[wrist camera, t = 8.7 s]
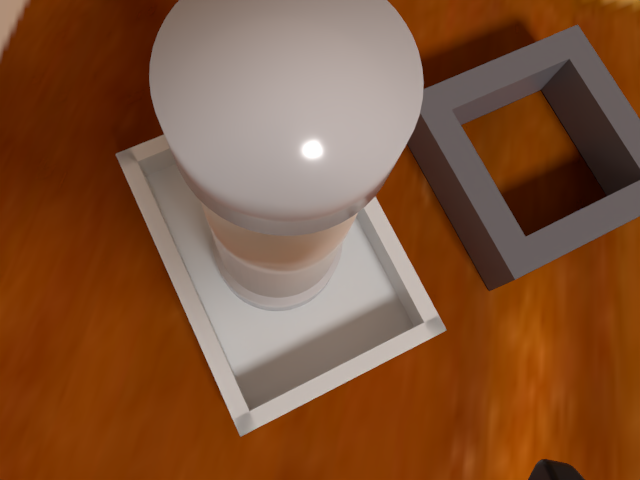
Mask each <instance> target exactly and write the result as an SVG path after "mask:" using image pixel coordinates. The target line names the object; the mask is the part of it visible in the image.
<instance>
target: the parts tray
mask: <svg viewBox="0 0 640 480" xmlns="http://www.w3.org/2000/svg"><path fill="white" fill-rule="evenodd" d="M116 156H117V159H118V161H119V163H120V165H121V168H122V170H123V172H124V174H125V177H126V179H127V181H128V184H129V186H130V188H131V190H132V193H133V195H134V197H135V199H136V202H137V204H138V206H139V208H140V211H141V213H142V215H143V217H144V220H145V222H146V224H147V227H148V229H149V231H150V233H151V236H152V238H153V240H154V242H155V245H156V247H157V249H158V251H159V254H160V256H161V258H162V260H163V263H164V265H165V267H166V269H167V272H168V274H169V276H170V279H171V281H172V283H173V285H174V288H175V290H176V292H177V294H178V297H179V299H180V301H181V303H182V306H183V308H184V310H185V312H186V315H187V317H188V319H189V322H190V324H191V326H192V328H193V331H194V333H195V335H196V337H197V340H198V342H199V344H200V346H201V349H202V351H203V353H204V355H205V358H206V360H207V362H208V364H209V367H210V369H211V371H212V374H213V376H214V378H215V380H216V383H217V385H218V387H219V389H220V392H221V394H222V396H223V398H224V401H225V403H226V405H227V407H228V410H229V412H230V414H231V417H232V419H233V421H234V423H235V426H236V428H237V430H238V432H239V435H240V437H241V436H243V435H245V434H247V433H248V432H250V431H252V430H254V429H256V428H258V427H260V426H262V425H264V424H266V423H268V422H270V421H272V420H274V419H276V418H278V417H279V416H281V415H283V414H285V413H287V412H289V411H291V410H293V409H295V408H297V407H299V406H301V405H303V404H305V403H307V402H309V401H310V400H312V399H314V398H316V397H318V396H320V395H322V394H324V393H326V392H328V391H330V390H332V389H334V388H336V387H338V386H340V385H341V384H343V383H345V382H347V381H349V380H351V379H353V378H355V377H357V376H359V375H361V374H363V373H365V372H367V371H369V370H371V369H372V368H374V367H376V366H378V365H380V364H382V363H384V362H386V361H388V360H390V359H392V358H394V357H396V356H398V355H400V354H402V353H403V352H405V351H407V350H409V349H411V348H413V347H415V346H417V345H419V344H421V343H423V342H425V341H427V340H429V339H431V338H433V337H434V336H436V335H438V334H440V333H442V332H444V331H446V328H445V326H444V324H443V323H442V321H441V319H440V317H439V315H438V313H437V311H436V309H435V308H434V306H433V304H432V302H431V300H430V298H429V296H428V294H427V293H426V291H425V289H424V287H423V285H422V283H421V281H420V279H419V278H418V276H417V274H416V272H415V270H414V268H413V266H412V264H411V263H410V261H409V259H408V257H407V255H406V253H405V251H404V249H403V248H402V246H401V244H400V242H399V240H398V238H397V236H396V234H395V233H394V231H393V229H392V227H391V225H390V223H389V221H388V219H387V218H386V216H385V214H384V212H383V210H382V208H381V206H380V204H379V203H378V201H377V199H376V197H374V198H373V199H372V200H371V201H370V202H369V203H368V204H367V205H366V206H365V207H364V208H363V209H362V210H360V211H359V212H358V214H357V216H356V218H355V220H354V222H353V224H352V226H351V228H350V229H349V231H348V233H347V235H346V237H345V239H344V241H343V244H342V252H341V256H340V260H339V262H338V265H337V267H336V269H335V271H334V273H333V275H332V276H331V278H330V280H329V282H328V283H327V285H326V286H325V288H324V289H323V290H322V291H321V292H320V293H319V294H318V295H317V296H316V297H315V298H314V299H312V300H311V301H309V302H308V303H306V304H304V305H302V306H300V307H297V308H294V309H291V310H285V311H268V310H263V309H259V308H256V307H253V306H251V305H249V304H247V303H245V302H244V301H242V300H241V299H239V298H238V297H237V296H236V295H235V294H234V293H233V292H232V291H231V290H230V289H229V288H228V286H227V285H226V283H225V281H224V280H223V278H222V276H221V273H220V271H219V268H218V266H217V263H216V261H215V258H214V254H213V248H212V232H211V230H210V227H209V224H208V221H207V218H206V216H205V213H204V210H203V207H202V204H201V202H200V200H199V199H198V198H197V197H196V195H195V194H194V193H193V192H192V191H191V189H190V188H189V187H188V185H187V184H186V182H185V180H184V179H183V177H182V175H181V174H180V172H179V169H178V167H177V165H176V162H175V160H174V157H173V155H172V152H171V150H170V147H169V145H168V143H167V140H166V138H165V135H161V136H159V137H156V138H154V139H151V140H149V141H146V142H144V143H141V144H139V145H136V146H134V147H131V148H129V149H126V150H124V151H121V152H119V153H116Z"/></svg>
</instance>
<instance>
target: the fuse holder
mask: <svg viewBox="0 0 640 480" xmlns="http://www.w3.org/2000/svg"><path fill="white" fill-rule="evenodd" d="M539 90H541V91H542V92H543V94H544V95H545V97H546V99H547V100H548V102H549V103H550V105H551V107H552V108H553V110H554V111H555V113H556V115H557V116H558V118H559V120H560V121H561V123H562V124H563V126H564V128H565V129H566V131H567V132H568V134H569V136H570V137H571V139H572V140H573V142H574V144H575V145H576V147H577V149H578V150H579V152H580V153H581V155H582V157H583V158H584V160H585V161H586V163H587V165H588V166H589V168H590V169H591V171H592V173H593V174H594V176H595V177H596V179H597V181H598V182H599V184H600V186H601V187H602V189H603V190H604V192H605V194H606V195H607V197H605V198H603V199H601V200H599V201H597V202H595V203H593V204H591V205H589V206H587V207H585V208H583V209H581V210H579V211H577V212H575V213H572V214H570V215H568V216H566V217H564V218H562V219H560V220H558V221H556V222H554V223H552V224H550V225H548V226H546V227H544V228H542V229H540V230H538V231H536V232H534V233H532V234H530V235H528V236H525V235H524V233H523V231H522V230H521V228H520V226H519V224H518V223H517V221H516V219H515V218H514V216H513V214H512V212H511V211H510V209H509V207H508V206H507V204H506V202H505V200H504V199H503V197H502V195H501V193H500V192H499V190H498V188H497V187H496V185H495V183H494V181H493V180H492V178H491V176H490V175H489V173H488V171H487V169H486V168H485V166H484V164H483V163H482V161H481V159H480V157H479V156H478V154H477V152H476V150H475V149H474V147H473V145H472V144H471V142H470V140H469V138H468V137H467V135H466V133H465V132H464V130H463V128H462V126H461V125H462V124H464V123H466V122H469V121H471V120H473V119H476V118H478V117H480V116H482V115H485V114H487V113H489V112H491V111H494V110H496V109H498V108H501V107H503V106H505V105H507V104H510V103H512V102H514V101H517V100H519V99H521V98H523V97H526V96H528V95H530V94H532V93H535V92H537V91H539ZM407 144H408V146H409V148H410V150H411V151H412V153H413V155H414V157H415V159H416V160H417V162H418V164H419V166H420V168H421V169H422V171H423V173H424V175H425V177H426V178H427V180H428V182H429V184H430V186H431V187H432V189H433V191H434V193H435V195H436V196H437V198H438V200H439V202H440V204H441V205H442V207H443V209H444V211H445V213H446V214H447V216H448V218H449V220H450V222H451V223H452V225H453V227H454V229H455V231H456V232H457V234H458V236H459V238H460V239H461V241H462V243H463V245H464V247H465V248H466V250H467V252H468V254H469V256H470V257H471V259H472V261H473V263H474V265H475V266H476V268H477V270H478V272H479V274H480V275H481V277H482V279H483V281H484V283H485V284H486V286H487V288H488V290H489V291H490V290H493V289H495V288H497V287H499V286H502V285H504V284H506V283H509V282H511V281H513V280H515V279H517V278H519V277H521V276H523V275H525V274H527V273H529V272H531V271H533V270H535V269H537V268H539V267H541V266H543V265H545V264H547V263H549V262H551V261H552V260H554V259H556V258H558V257H560V256H562V255H564V254H566V253H568V252H570V251H572V250H574V249H576V248H578V247H580V246H582V245H584V244H586V243H588V242H590V241H592V240H594V239H596V238H598V237H600V236H602V235H603V234H605V233H607V232H609V231H611V230H613V229H615V228H617V227H619V226H621V225H623V224H625V223H627V222H629V221H631V220H633V219H635V218H637V217H639V216H640V119H639V118H638V116H637V115H636V113H635V112H634V110H633V108H632V107H631V105H630V104H629V102H628V101H627V99H626V98H625V96H624V95H623V93H622V92H621V90H620V89H619V87H618V85H617V84H616V82H615V81H614V79H613V78H612V76H611V75H610V73H609V72H608V70H607V69H606V67H605V66H604V64H603V62H602V61H601V59H600V58H599V56H598V55H597V53H596V52H595V50H594V49H593V47H592V46H591V44H590V43H589V41H588V39H587V38H586V36H585V35H584V33H583V32H582V30H581V29H580V27H579V26H578V25H576V26H573V27H571V28H568V29H566V30H564V31H561V32H559V33H557V34H554V35H552V36H549V37H547V38H545V39H542V40H540V41H537V42H535V43H533V44H530V45H528V46H526V47H523V48H521V49H518V50H516V51H514V52H511V53H509V54H507V55H504V56H502V57H499V58H497V59H495V60H492V61H490V62H487V63H485V64H483V65H480V66H478V67H476V68H473V69H471V70H468V71H466V72H464V73H461V74H459V75H456V76H454V77H452V78H449V79H447V80H445V81H442V82H440V83H437V84H435V85H433V86H430V87H428V88H425V89H423V100H422V105H421V110H420V115H419V118H418V120H417V123H416V126H415V129H414V131H413V133H412V135H411V137H410V138H409V140H408V142H407Z"/></svg>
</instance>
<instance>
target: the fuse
mask: <svg viewBox="0 0 640 480" xmlns="http://www.w3.org/2000/svg"><path fill="white" fill-rule="evenodd" d="M149 82H150V92H151V98H152V102H153V106H154V109H155V113H156V115H157V118H158V120H159V123H160V125H161V128H162V130H163V133H164V135H165V138H166V140H167V143H168V145H169V147H170V150H171V152H172V155H173V157H174V160H175V162H176V165H177V167H178V169H179V172H180V174H181V175H182V177H183V179H184V180H185V182H186V184H187V185H188V187H189V188H190V189H191V191H192V192H193V193H194V194H195V195H196V197H197V198H198V199H199V200H200V202H201V204H202V207H203V210H204V213H205V216H206V218H207V221H208V224H209V227H210V230H211V232H212V248H213V254H214V258H215V261H216V263H217V266H218V268H219V271H220V273H221V276H222V278H223V280H224V281H225V283H226V285H227V286H228V288H229V289H230V290H231V291H232V292H233V293H234V294H235V295H236V296H237V297H238V298H239V299H241V300H242V301H244V302H245V303H247V304H249V305H251V306H253V307H256V308H259V309H263V310H268V311H285V310H291V309H294V308H297V307H300V306H302V305H304V304H306V303H308V302H309V301H311V300H312V299H314V298H315V297H316V296H317V295H318V294H319V293H320V292H321V291H322V290H323V289H324V288H325V286H326V285H327V283H328V282H329V280H330V278H331V276H332V275H333V273H334V271H335V269H336V267H337V265H338V262H339V260H340V256H341V252H342V244H343V241H344V239H345V237H346V235H347V233H348V231H349V229H350V228H351V226H352V224H353V222H354V220H355V218H356V216H357V214H358V212H359V211H360V210H362V209H363V208H364V207H365V206H366V205H367V204H368V203H369V202H370V201H371V200H372V199H373V198H374V197H375V196H376V194H377V193H378V192H379V190H380V189H381V187H382V186H383V185H384V183H385V181H386V179H387V178H388V176H389V174H390V172H391V171H392V169H393V167H394V165H395V163H396V162H397V160H398V158H399V156H400V155H401V153H402V151H403V149H404V148H405V146H406V144H407V142H408V140H409V138H410V137H411V135H412V133H413V131H414V129H415V126H416V123H417V120H418V118H419V115H420V110H421V105H422V100H423V86H424V81H423V70H422V64H421V60H420V55H419V51H418V49H417V46H416V44H415V41H414V38H413V36H412V34H411V32H410V31H409V29H408V27H407V25H406V23H405V22H404V20H403V19H402V18H401V16H400V15H399V13H398V12H397V11H396V9H395V8H394V7H393V6H392V5H391V4H390V3H389V2H388V1H387V0H179V1H178V2H177V3H176V4H175V5H174V7H173V8H172V10H171V11H170V12H169V14H168V15H167V17H166V18H165V20H164V22H163V24H162V26H161V28H160V30H159V31H158V34H157V37H156V40H155V43H154V45H153V49H152V54H151V60H150V72H149Z"/></svg>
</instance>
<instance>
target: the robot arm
mask: <svg viewBox="0 0 640 480" xmlns="http://www.w3.org/2000/svg"><path fill="white" fill-rule="evenodd" d="M528 480H585V479H584V478H583V477H582V476H581V475H580V474H579V472H578V471H577V470H576V469H575V468H574V467H573V466H571V465H569V464H567V463H563V462H558V461H552V460H547V459H542V460H540V461H539V462H538V463H537V464H536V465H535V467H534V469H533V471H532V473H531V475H530V477H529V479H528Z"/></svg>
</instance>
